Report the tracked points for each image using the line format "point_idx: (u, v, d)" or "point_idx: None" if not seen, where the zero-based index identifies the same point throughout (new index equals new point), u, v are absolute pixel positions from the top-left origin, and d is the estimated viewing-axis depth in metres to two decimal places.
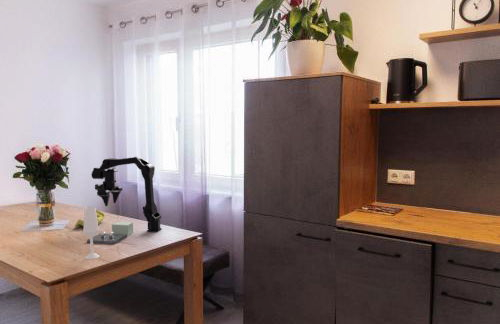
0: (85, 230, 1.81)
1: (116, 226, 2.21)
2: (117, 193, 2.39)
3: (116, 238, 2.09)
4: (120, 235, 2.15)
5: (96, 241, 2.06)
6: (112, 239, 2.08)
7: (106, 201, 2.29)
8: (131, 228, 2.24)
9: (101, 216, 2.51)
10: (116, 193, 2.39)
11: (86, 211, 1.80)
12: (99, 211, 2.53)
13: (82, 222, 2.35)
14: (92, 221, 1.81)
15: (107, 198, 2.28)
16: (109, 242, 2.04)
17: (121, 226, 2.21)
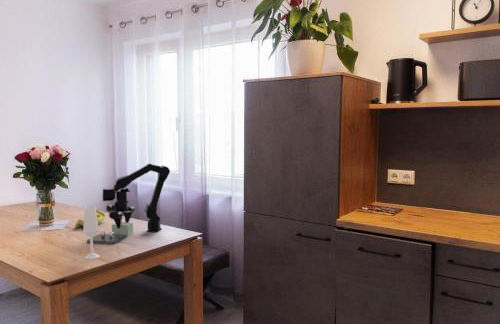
0: (85, 230, 1.81)
1: (116, 226, 2.21)
2: (129, 214, 2.28)
3: (116, 238, 2.09)
4: (120, 235, 2.15)
5: (96, 241, 2.06)
6: (112, 239, 2.08)
7: (118, 223, 2.18)
8: (131, 228, 2.24)
9: (101, 216, 2.51)
10: (128, 214, 2.28)
11: (86, 211, 1.80)
12: (100, 211, 2.54)
13: (82, 222, 2.35)
14: (92, 221, 1.81)
15: (119, 220, 2.17)
16: (109, 242, 2.04)
17: (121, 226, 2.21)
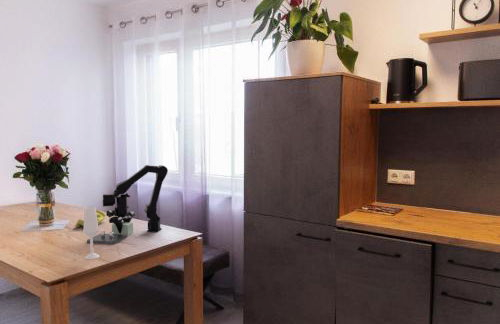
0: (85, 230, 1.81)
1: None
2: (128, 220, 2.27)
3: (116, 238, 2.09)
4: (120, 235, 2.15)
5: (96, 241, 2.06)
6: (112, 239, 2.08)
7: (120, 228, 2.19)
8: (131, 228, 2.24)
9: (102, 216, 2.51)
10: (127, 219, 2.27)
11: (86, 211, 1.80)
12: (100, 211, 2.54)
13: (82, 222, 2.35)
14: (92, 221, 1.81)
15: (121, 225, 2.18)
16: (109, 242, 2.04)
17: None
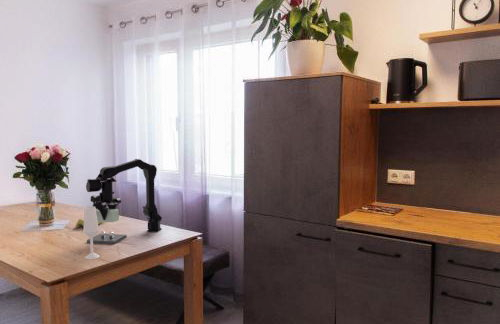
0: (85, 230, 1.81)
1: None
2: (114, 206, 2.15)
3: (116, 238, 2.09)
4: (120, 235, 2.15)
5: (96, 241, 2.06)
6: (112, 239, 2.08)
7: (104, 214, 2.08)
8: (116, 215, 2.12)
9: None
10: (113, 206, 2.15)
11: (86, 211, 1.80)
12: None
13: (82, 222, 2.35)
14: (92, 221, 1.81)
15: (105, 211, 2.06)
16: (109, 242, 2.04)
17: None
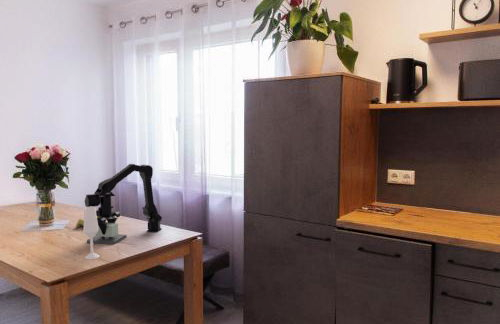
0: (85, 230, 1.81)
1: None
2: (113, 220, 2.14)
3: (116, 238, 2.09)
4: (120, 235, 2.15)
5: (96, 241, 2.06)
6: (112, 239, 2.08)
7: (103, 229, 2.07)
8: (116, 229, 2.11)
9: None
10: (112, 220, 2.14)
11: (86, 211, 1.80)
12: None
13: (82, 222, 2.36)
14: (92, 221, 1.81)
15: (105, 226, 2.06)
16: (109, 242, 2.04)
17: None
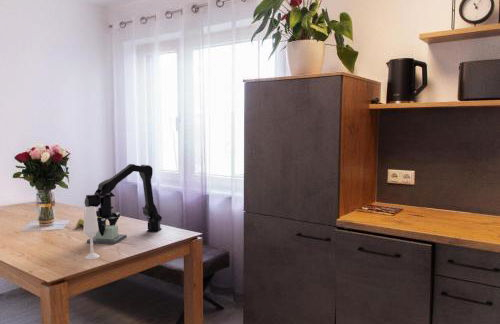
0: (85, 230, 1.81)
1: None
2: (114, 220, 2.16)
3: (116, 238, 2.09)
4: (120, 235, 2.15)
5: (96, 241, 2.06)
6: (112, 239, 2.08)
7: (102, 230, 2.06)
8: (116, 231, 2.12)
9: None
10: (113, 220, 2.16)
11: (86, 211, 1.80)
12: None
13: (83, 222, 2.36)
14: (92, 221, 1.81)
15: (103, 227, 2.04)
16: (109, 242, 2.04)
17: (105, 229, 2.08)
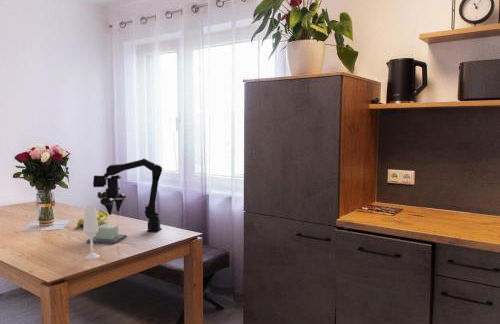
0: (85, 230, 1.81)
1: (100, 229, 2.09)
2: (120, 201, 2.29)
3: (116, 238, 2.09)
4: (120, 235, 2.15)
5: (96, 241, 2.06)
6: (112, 239, 2.08)
7: (110, 209, 2.19)
8: (116, 231, 2.12)
9: (105, 216, 2.51)
10: (119, 201, 2.29)
11: (86, 211, 1.80)
12: (103, 211, 2.54)
13: (83, 222, 2.36)
14: (92, 221, 1.81)
15: (111, 206, 2.18)
16: (109, 242, 2.04)
17: (105, 229, 2.08)
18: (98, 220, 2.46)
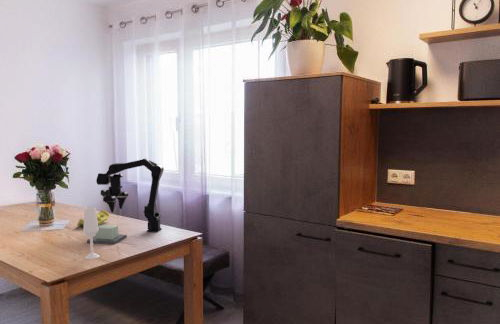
0: (85, 230, 1.81)
1: (100, 229, 2.09)
2: (123, 199, 2.34)
3: (116, 238, 2.09)
4: (120, 235, 2.15)
5: (96, 241, 2.06)
6: (112, 239, 2.08)
7: (112, 207, 2.24)
8: (116, 231, 2.12)
9: (106, 216, 2.51)
10: (122, 199, 2.34)
11: (86, 211, 1.80)
12: (104, 211, 2.54)
13: (83, 222, 2.36)
14: (92, 221, 1.81)
15: (113, 204, 2.23)
16: (109, 242, 2.04)
17: (105, 229, 2.08)
18: (99, 220, 2.46)
